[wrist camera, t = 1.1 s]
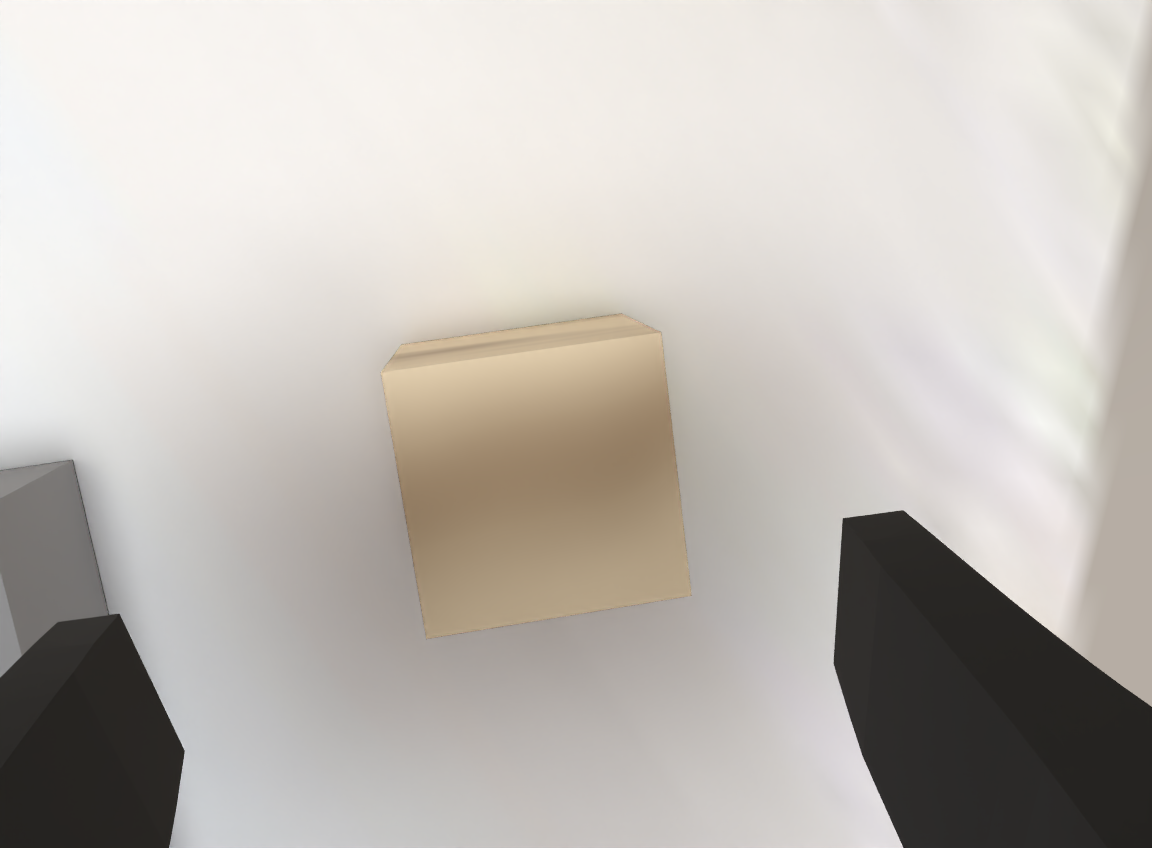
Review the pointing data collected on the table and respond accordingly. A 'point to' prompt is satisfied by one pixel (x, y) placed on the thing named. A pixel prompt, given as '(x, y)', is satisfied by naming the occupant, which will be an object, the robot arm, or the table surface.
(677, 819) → the table surface
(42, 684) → the robot arm
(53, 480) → the flat grey base plate
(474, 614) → the birch cube
